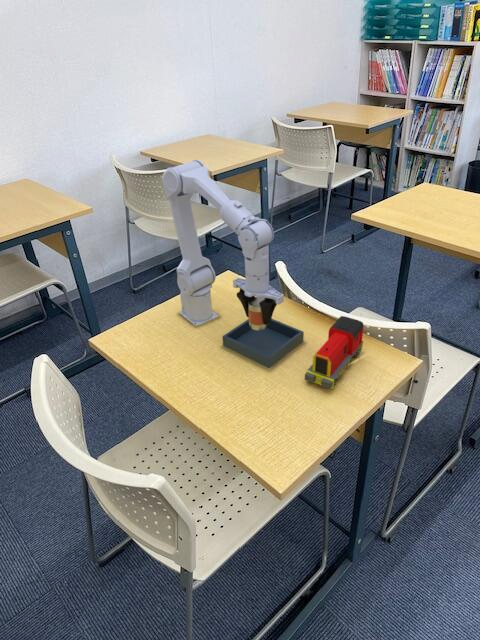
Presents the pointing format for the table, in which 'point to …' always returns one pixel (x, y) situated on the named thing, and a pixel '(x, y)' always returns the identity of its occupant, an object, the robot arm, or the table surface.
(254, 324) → the tin can
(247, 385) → the table surface
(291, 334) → the tub
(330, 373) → the toy train
